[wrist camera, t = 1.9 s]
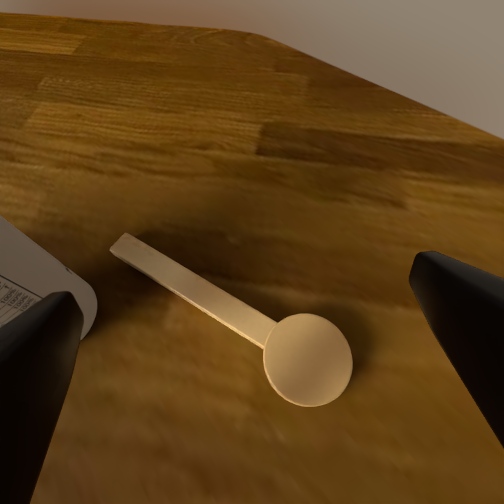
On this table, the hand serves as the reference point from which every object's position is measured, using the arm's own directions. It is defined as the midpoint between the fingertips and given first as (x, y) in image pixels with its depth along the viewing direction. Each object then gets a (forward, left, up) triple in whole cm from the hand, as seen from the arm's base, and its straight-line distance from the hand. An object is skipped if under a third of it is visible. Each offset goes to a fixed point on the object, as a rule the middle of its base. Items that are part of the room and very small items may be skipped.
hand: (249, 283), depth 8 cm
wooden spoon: (+2, +3, -15) cm, 16 cm away
